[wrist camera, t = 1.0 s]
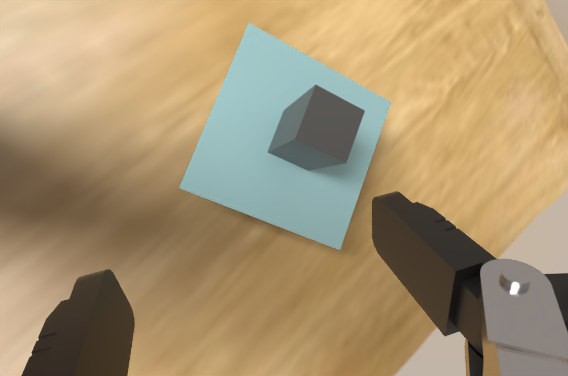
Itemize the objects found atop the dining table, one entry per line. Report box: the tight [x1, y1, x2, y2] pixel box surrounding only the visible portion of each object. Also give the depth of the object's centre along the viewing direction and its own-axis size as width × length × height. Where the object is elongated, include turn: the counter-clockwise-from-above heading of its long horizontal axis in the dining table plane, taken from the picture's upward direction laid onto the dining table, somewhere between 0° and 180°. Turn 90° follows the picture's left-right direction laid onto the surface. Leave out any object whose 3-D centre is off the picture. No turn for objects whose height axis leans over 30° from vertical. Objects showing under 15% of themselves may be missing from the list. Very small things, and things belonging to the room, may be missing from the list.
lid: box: [179, 23, 391, 250], centre depth 27 cm, size 15×15×9 cm
